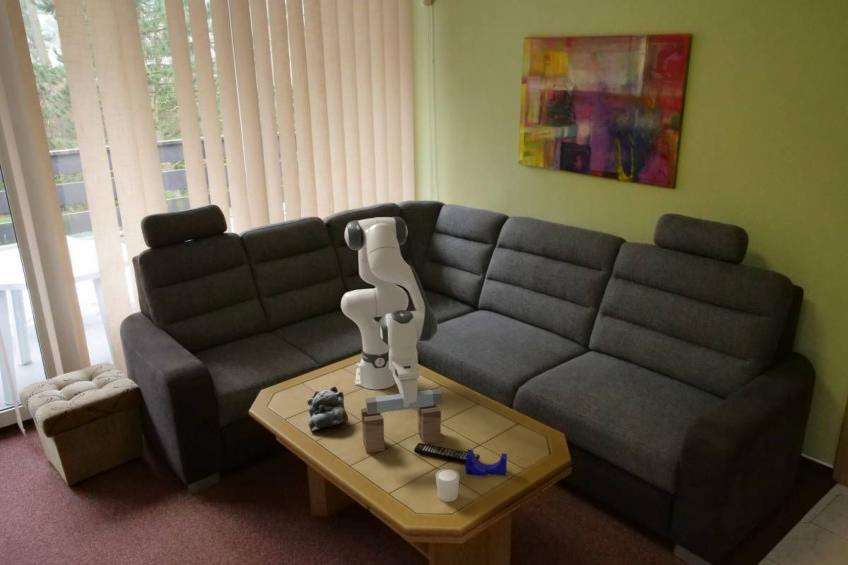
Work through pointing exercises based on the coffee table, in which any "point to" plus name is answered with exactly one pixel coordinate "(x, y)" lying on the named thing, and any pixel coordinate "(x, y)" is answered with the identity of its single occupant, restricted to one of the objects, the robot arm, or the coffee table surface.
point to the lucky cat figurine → (326, 409)
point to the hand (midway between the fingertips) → (404, 402)
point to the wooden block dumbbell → (426, 427)
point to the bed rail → (396, 401)
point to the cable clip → (485, 465)
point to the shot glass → (447, 484)
